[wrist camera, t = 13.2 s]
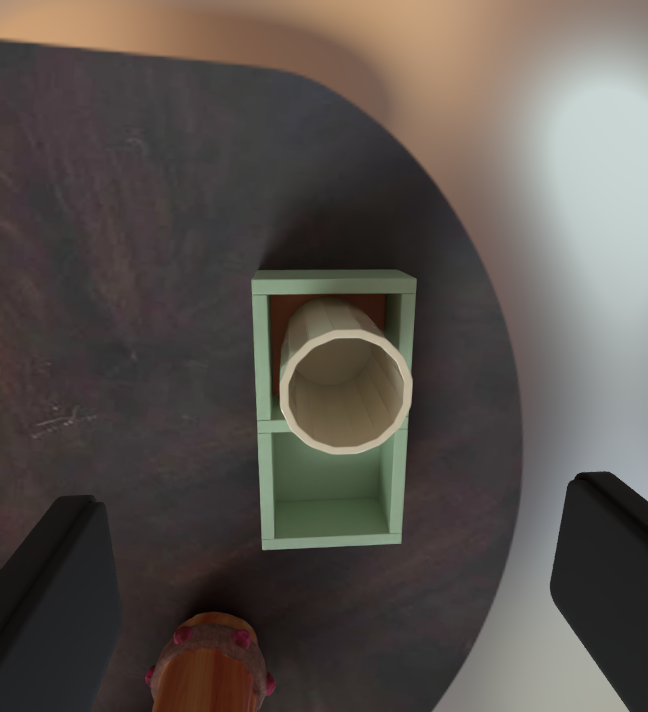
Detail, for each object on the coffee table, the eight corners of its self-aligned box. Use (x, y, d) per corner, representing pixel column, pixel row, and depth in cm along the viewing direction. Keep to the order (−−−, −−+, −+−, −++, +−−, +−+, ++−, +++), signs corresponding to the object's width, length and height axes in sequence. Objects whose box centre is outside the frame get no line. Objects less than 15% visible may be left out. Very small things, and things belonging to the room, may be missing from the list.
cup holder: (256, 269, 29) (251, 279, 24) (397, 269, 29) (417, 278, 25) (265, 506, 34) (262, 550, 29) (386, 501, 34) (401, 543, 30)
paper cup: (280, 296, 29) (278, 330, 20) (378, 295, 29) (416, 328, 20) (282, 388, 30) (281, 456, 22) (374, 386, 31) (408, 452, 22)
